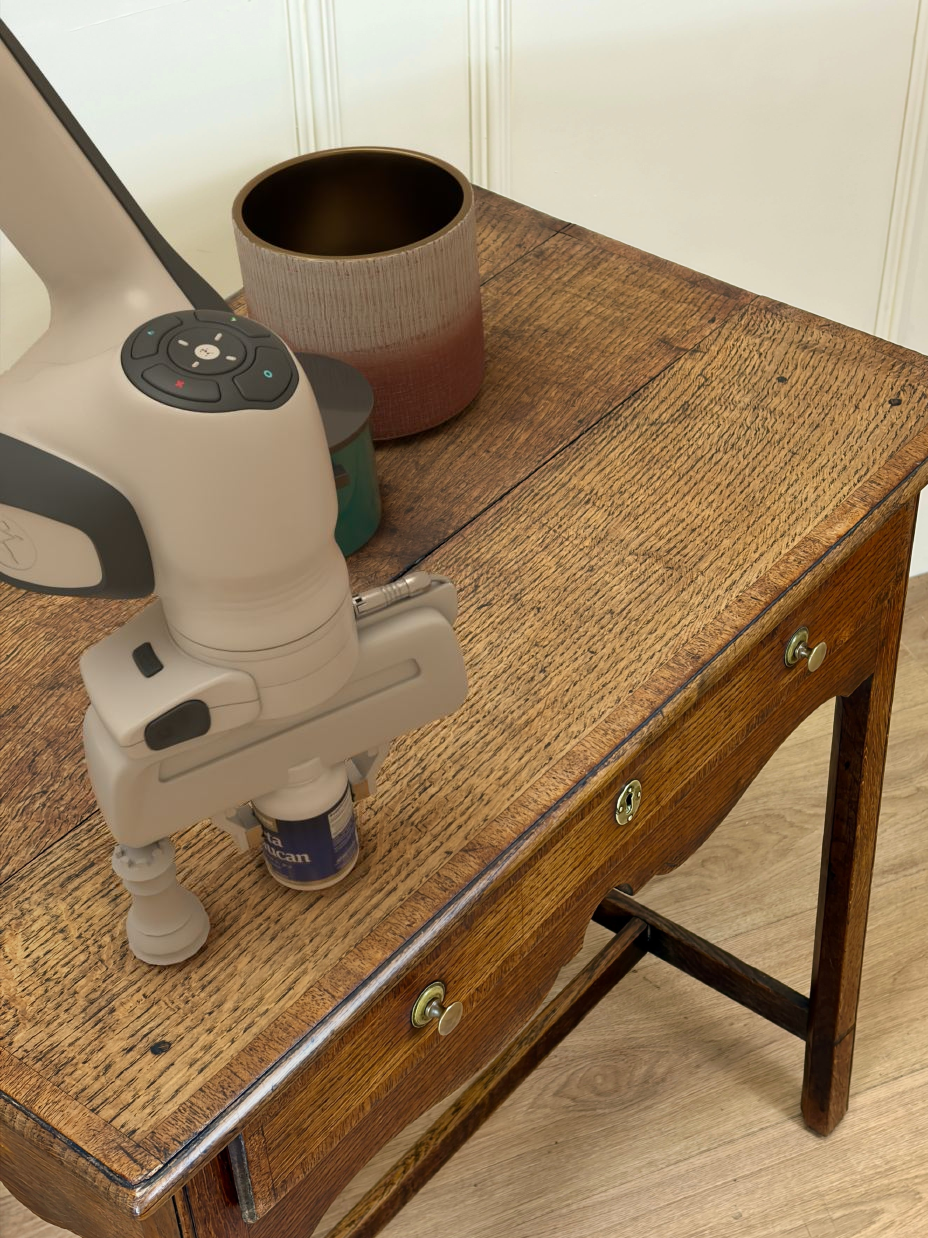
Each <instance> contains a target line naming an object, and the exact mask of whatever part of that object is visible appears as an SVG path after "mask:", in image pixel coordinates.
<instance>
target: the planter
mask: <svg viewBox="0 0 928 1238" xmlns="http://www.w3.org/2000/svg"><path fill="white" fill-rule="evenodd" d="M475 206H476V203H475V194H474V189H473V186H472V184H471V181H470V180H469V179H468V178H467V176H466V175H465V174H464V173H463V172H462V171H461V170H460V169H458V168H457V167H455V166H454V165H453V164H452V163H449V162H447V161H446V160H443V159H441V158H439V157H436V156H434V155H430V154H428V153H424V152H421V151H417V150H412V149H406V148H399V147H392V146H383V145H382V146H380V145H358V146H357V145H356V146H344V147H335V148H328V149H323V150H317V151H313V152H308V153H304V154H301V155H299V156H295V157H291V158H289V159H286V160H284V161H281V162H279V163H276V164H274V165H272V166H270V167H267V169H264V170H263V171H261V172H259V173H258V174H257V175H255V176H253V177H252V178H251V179H250V180H248V182H246V183H245V185H244V186H242V188H240V190H239V191H238V193H237V194H236V196H235V198H234V200H233V203H232V205H231V222H232V227H233V234H234V240H235V244H236V250H237V256H238V257H237V258H238V261H239V268H240V273H241V279H242V287H243V292H244V295H245V296H244V298H245V303H246V304H245V305H246V309H247V316H248V318H249V319H252V320H254V321H256V322H258V323H260V324H262V325H264V326H266V327H267V328H269V329H270V330H272V331H273V332H274V333H276V334H277V335H278V336H279V337H280V338H281V339H282V340H283V341H284V342H285V343H286V344H287V346H288V347H289V348H290V349H291V351H292V352H301V353H312V354H318V355H324V356H328V357H332V358H335V359H338V360H340V361H343V362H345V363H347V364H349V365H351V366H352V367H354V368H355V369H357V370H358V371H359V372H360V373H362V374H363V375H364V376H365V378H366V379H367V380H368V382H369V383H370V386H371V388H372V391H373V395H374V412H373V416H372V418H371V426H372V434H373V442H374V443H375V442H385V441H392V440H397V439H403V438H408V437H411V436H415V435H417V434H420V433H423V432H427V431H428V430H431V429H434V428H436V427H438V426H440V425H442V424H444V423H445V422H448V421H449V420H450V419H451V418H453V417H455V416H456V415H458V414H459V413H460V412H462V411H463V410H464V409H466V408H467V407H468V405H469V404H471V403H472V402H473V400H474V399H475V398H476V397H477V395H478V393H479V392H480V390H481V387H482V385H483V382H484V378H485V371H486V349H485V348H486V347H485V334H484V320H483V319H484V318H483V306H482V294H481V293H482V292H481V279H480V265H479V254H478V253H479V251H478V237H477V221H476V220H477V219H476V207H475Z"/></svg>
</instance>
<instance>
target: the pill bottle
mask: <svg viewBox="0 0 928 1238" xmlns="http://www.w3.org/2000/svg"><path fill="white" fill-rule="evenodd" d="M344 762H345V760H344V761H341V762H339V763H337V764H334V765H332V766H330V767H327V768H325V769H323V768H324V767H323V766H322V765H321V762H320V758H319V757H316V758H313V759H311V760H308V761H306V762H304V763H301V764H299V765H297V766H294V767H292V768H290V769H288V775H289V779H288V781H287V784H288V785H285V786H283V787H281V788H278V789H276V790H274V791H271V792H269V793H267V794H265V795H262V796H260V797H258V798H255V799H253V800H251V801H250V803H251V804H250V805H251V808H252V810H253V811H254V815H255V816H256V817H257V818H258V820H259V821H260V823H261V825H262V829H263V836H264V837H265V842H264V843H262V844H260V845H261V849H262V854H263V857H264V862H265V864H266V867H267V870H268V871H269V873H270V875H271V876H272V877H273V878H274V879H275V880H276V881H277V882H278V883H280V884H281V885H283V886H286V887H288V888H290V889H293V890H298V891H306V892H307V891H309V892H310V891H318V890H323V889H326V888H329V887H331V886H334V885H335V884H337V883H339V882H340V881H342V880H343V879H344V878H346V877H347V876H348V874H349V873H350V872H351V871H352V870H353V868H354V867H355V865H356V863H357V860H358V857H359V854H360V853H359V852H360V843H359V835H358V828H357V824H356V823H357V821H356V817H355V815H356V814H355V811H354V803H353V802H352V797H351V792H350V785H349V780H348V774H347V770H346V766H345V763H344Z"/></svg>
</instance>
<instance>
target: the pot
mask: <svg viewBox="0 0 928 1238" xmlns="http://www.w3.org/2000/svg"><path fill="white" fill-rule="evenodd" d="M293 354H294V356H295V357H296V359H297V360H298V362H299V363H300V365H301V367H302V368H303V370H304V372H305V374H306V376H307V378H308V380H309V382H310V385H311V387H312V390H313V393H314V395H315V398H316V401H317V405H318V408H319V411H320V414H321V418H322V422H323V426H324V430H325V434H326V439H327V444H328V449H329V453H330V458H331V463H332V468H333V474H334V480H335V487H336V493H337V502H338V516H337V522H336V526H335V531H334V537H335V541H336V543H337V545H338V546H339V548H340V550H341V552H342V554H343V556H344V558H346V557H349V556H350V555H352V554H353V553H355V552H356V551H358V550H359V549H361V548H362V547H363V546H364V545H366V543H367V542H369V540H371V538H372V537H373V535H374V534H375V532H376V531H377V529H378V527H379V525H380V522H381V520H382V514H383V513H382V512H383V509H382V500H381V491H380V483H379V475H378V468H377V459H376V451H375V442H373V434H372V426H371V418H372V416H373V412H374V395H373V391H372V388H371V386H370V383H369V382H368V380H367V379H366V378H365V376H364V375H363V374H362V373H360V372H359V371H358V370H357V369H355V368H354V367H352V366H351V365H349V364H347V363H345V362H343V361H340V360H338V359H335V358H332V357H328V356H324V355H318V354H312V353H301V352H293Z"/></svg>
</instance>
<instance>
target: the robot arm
mask: <svg viewBox="0 0 928 1238" xmlns="http://www.w3.org/2000/svg"><path fill="white" fill-rule="evenodd" d="M0 231H1V232H2V233H3V235H4V236H5V237H6V238H7V239H8V241H9V242H10V244H12V246H13V247H14V248H15V249H16V251H17V252H18V253H19V254H20V255H21V257H22V258H23V259H24V260H25V261H26V263H27V264H28V265H29V266H30V268H31V269H32V271H33V272H34V273H35V274H36V275H37V276H38V278H39V279H40V281H41V282H42V283H43V285H44V287H45V289H46V291H47V294H48V298H49V304H50V319H49V324H48V328H47V329H46V330H45V331H44V332H43V333H42V335H41V336H39V337H38V339H36V341H34V342H33V344H31V346H29V348H28V349H27V350H26V351H25V352H23V354H22V355H21V356H20V357H19V358H18V359H17V360H16V361H15V362H14V363H13V364H12V365H11V366H10V367H9V368H8V369H6V370H4V371H3V372H2V373H1V374H0V581H1V583H2V582H3V583H4V584H7V585H8V586H11V587H14V588H16V589H20V590H24V591H27V592H31V593H34V594H40V595H46V596H53V597H54V596H55V597H68V598H78V599H79V598H80V599H96V600H139V599H145V598H148V597H149V596H151V595H155V596H157V599H155V600H154V601H153V602H152V603H150V604H149V605H148V606H147V607H146V608H144V610H142V611H141V612H140V613H138V614H137V615H136V616H134V617H133V618H131V619H130V620H129V621H127V622H126V623H125V624H124V625H121V626H120V627H119V628H117V629H116V630H115V631H114V632H113V631H112V633H110V634H109V635H108V636H106V637H104V638H103V639H102V640H100V641H98V642H97V643H96V644H94V645H93V646H92V647H90V648H89V649H87V650H86V651H85V652H84V654H82V656H81V657H80V658H79V663H78V666H79V671H80V675H81V678H82V683H83V685H84V688H85V691H86V694H87V696H88V698H89V701H90V705H89V706H88V708H87V710H86V712H85V715H84V718H83V721H82V722H83V723H82V741H83V750H84V757H85V763H86V768H87V772H88V773H87V774H88V778H89V781H90V785H91V789H92V793H93V795H94V799H95V801H96V804H97V807H98V809H99V810H100V813H101V816H102V817H103V820H104V822H105V824H106V826H107V828H108V830H109V832H110V833H111V835H112V837H113V839H114V841H116V843H118V844H119V843H120V844H123V845H125V846H129V847H132V848H141V847H144V846H146V845H149V844H151V843H153V842H155V841H157V840H160V839H162V838H164V837H169V836H172V835H174V834H176V833H178V832H181V831H182V830H186V829H188V828H190V827H192V826H194V825H197V824H199V823H202V822H204V821H206V820H209V821H210V822H211V825H212V826H213V827H215V828H218V829H219V830H221V831H223V832H225V833H227V834H229V835H230V838H231V839H232V841H233V843H234V845H235V847H236V848H237V850H238V852H239V853H240V854H243V853H245V852H247V851H248V850H250V849H252V848H255V847H257V846H260V845H261V844H262V843H264V842H265V837H264V836H263V829H262V825H261V823H260V821H259V820H258V818H257V817H256V816H255V815H254V811H253V808H252V805H251V804H250V803H249V802H251V800H253V799H255V798H258V797H260V796H262V795H265V794H267V793H269V792H271V791H274V790H276V789H278V788H281V787H283V786H285V785H288V784H287V781H288V779H289V775H288V769H290V768H292V767H294V766H297V765H299V764H301V763H304V762H306V761H308V760H311V759H313V758H316V757H319V758H320V762H321V765H322V766H323V767H324V768H323V769H325V768H327V767H330V766H332V765H334V764H337V763H339V762H341V761H344V763H345V766H346V770H347V774H348V780H349V785H350V792H351V797H352V804H354V803H357V802H360V801H361V800H364V799H367V798H369V797H371V796H374V795H377V793H378V786H377V779H376V775H377V774H379V771H380V770H381V768H382V766H383V764H384V762H385V760H386V758H387V757H388V755H389V754H390V751H391V750H392V745H391V741H392V740H395V739H397V738H400V737H402V736H404V735H406V734H408V733H411V732H413V731H416V730H418V729H421V728H422V727H426V726H427V725H429V724H432V723H435V722H437V721H439V720H441V719H444V718H446V717H449V716H451V715H453V714H455V713H457V712H458V711H459V710H460V709H461V707H462V706H463V704H464V703H465V701H466V699H467V698H468V696H469V693H470V683H469V677H468V671H467V666H466V663H465V658H464V654H463V652H462V648H461V645H460V642H459V639H458V637H457V634H456V632H455V629H454V628H453V627H454V626H455V624H456V622H457V619H458V617H459V601H458V591H457V586H456V584H455V583H454V581H453V580H452V579H451V578H450V577H449V576H447V575H445V574H442V573H430V574H429V573H428V572H427V570H425V569H424V570H417V571H413V572H410V573H408V574H406V575H403V576H402V577H400V579H398V580H395V581H393V582H390V583H387V584H383V585H378V586H376V587H372V588H369V589H367V590H364V591H362V592H359V593H357V594H354V595H352V589H351V581H350V575H349V574H350V573H349V569H348V566H347V565H348V564H347V561H346V559H345V558H346V557H345V558H344V556H343V554H342V552H341V550H340V548H339V546H338V545H337V543H336V541H335V537H334V531H335V526H336V522H337V516H338V502H337V493H336V487H335V480H334V474H333V468H332V463H331V458H330V453H329V449H328V444H327V439H326V434H325V430H324V426H323V422H322V418H321V414H320V411H319V408H318V405H317V401H316V398H315V395H314V393H313V390H312V387H311V385H310V382H309V380H308V378H307V376H306V374H305V372H304V370H303V368H302V367H301V365H300V363H299V362H298V360H297V359H296V357H295V356H294V354H293V352H292V351H291V349H290V348H289V347H288V346H287V344H286V343H285V342H284V341H283V340H282V339H281V338H280V337H279V336H278V335H277V334H276V333H274V332H273V331H272V330H270V329H269V328H267V327H266V326H264V325H262V324H260V323H258V322H256V321H254V320H252V319H249V317H246V316H244V315H240V314H237V313H235V311H234V310H233V308H232V307H231V306H230V304H228V302H227V301H226V300H225V299H224V298H223V297H222V296H221V294H220V293H219V292H218V291H217V290H216V289H215V288H214V287H213V286H212V285H211V284H210V283H208V281H207V280H206V279H205V278H204V277H203V276H202V275H200V273H199V272H197V271H196V270H195V269H194V268H193V267H192V266H191V265H190V264H189V263H188V262H187V261H186V260H185V259H184V258H183V257H182V256H181V255H180V254H179V253H178V252H177V250H176V249H174V247H173V246H172V245H171V244H170V243H169V242H168V241H167V240H166V238H165V237H164V236H163V235H162V234H161V233H160V231H159V230H158V229H157V227H156V226H155V225H154V224H153V222H152V221H151V220H150V218H149V217H148V216H147V214H146V213H145V212H144V210H143V209H142V207H141V206H140V205H139V203H138V202H137V201H136V199H135V197H134V196H133V195H132V194H131V192H130V191H129V190H128V188H127V187H126V185H125V184H124V183H123V182H122V180H121V179H120V177H119V176H118V174H117V173H116V172H115V170H114V169H113V167H111V165H110V163H109V162H108V161H107V159H106V158H105V157H104V155H103V153H102V152H101V151H100V150H99V147H97V146H96V144H95V142H94V141H93V140H92V139H91V137H90V136H89V134H88V133H87V132H86V130H85V129H84V127H83V126H82V125H81V124H80V122H79V121H78V119H77V118H76V116H75V115H74V114H73V112H72V111H71V110H70V109H69V107H68V105H67V104H66V103H65V102H64V100H63V98H62V97H61V96H60V95H59V93H58V92H57V90H56V89H55V88H54V86H53V85H52V83H51V82H50V81H49V79H48V78H47V77H46V76H45V74H44V73H43V71H42V70H41V69H40V68H39V66H38V64H37V63H36V62H35V61H34V59H33V58H32V57H31V55H30V54H29V52H28V51H27V50H26V48H25V47H24V46H23V44H21V42H20V40H19V39H18V38H17V37H16V35H15V34H14V33H13V32H12V31H11V29H10V28H9V26H8V25H7V24H6V23H5V21H4V20H3V19H2V17H0ZM243 804H244V805H243Z"/></svg>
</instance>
